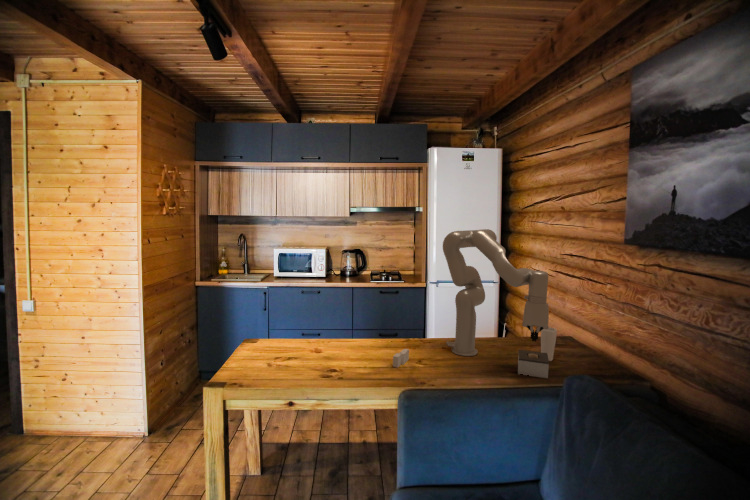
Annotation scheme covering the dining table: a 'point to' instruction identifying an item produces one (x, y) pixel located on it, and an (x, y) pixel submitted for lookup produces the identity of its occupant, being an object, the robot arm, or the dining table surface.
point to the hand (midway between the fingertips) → (534, 340)
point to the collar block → (533, 364)
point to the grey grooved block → (401, 358)
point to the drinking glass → (548, 341)
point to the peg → (533, 355)
